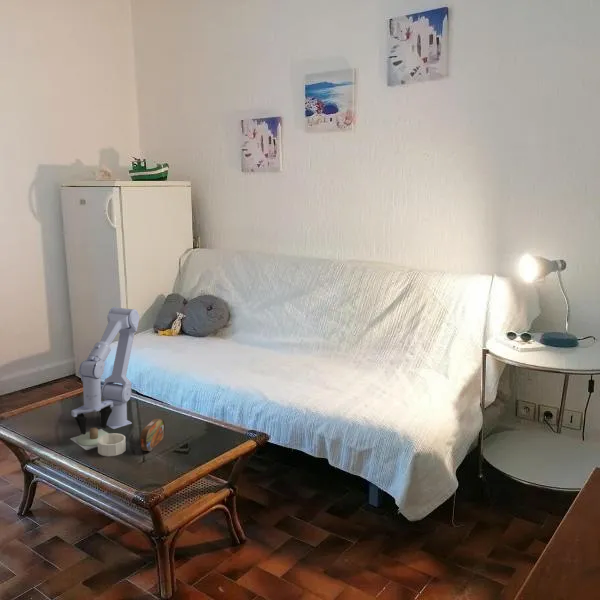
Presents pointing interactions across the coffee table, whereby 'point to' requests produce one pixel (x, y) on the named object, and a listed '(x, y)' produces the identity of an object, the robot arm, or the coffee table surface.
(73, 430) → the coffee table surface
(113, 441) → the bowl
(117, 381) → the robot arm
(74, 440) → the mat
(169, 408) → the coffee table surface
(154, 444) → the tin
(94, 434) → the lid
